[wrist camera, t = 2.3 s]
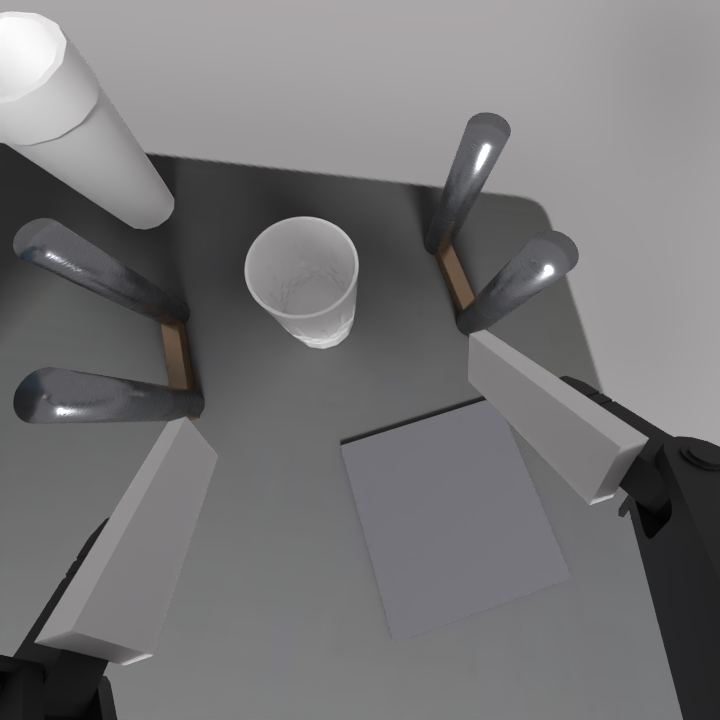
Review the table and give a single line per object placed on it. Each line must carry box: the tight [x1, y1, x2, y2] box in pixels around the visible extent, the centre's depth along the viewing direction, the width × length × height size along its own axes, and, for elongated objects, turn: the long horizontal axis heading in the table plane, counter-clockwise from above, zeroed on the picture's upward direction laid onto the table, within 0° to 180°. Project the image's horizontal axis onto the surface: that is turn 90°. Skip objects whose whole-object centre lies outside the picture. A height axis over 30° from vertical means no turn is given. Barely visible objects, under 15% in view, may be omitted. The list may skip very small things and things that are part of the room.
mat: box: [340, 400, 572, 643], centre depth 23 cm, size 16×16×1 cm
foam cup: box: [0, 11, 174, 229], centre depth 24 cm, size 10×9×13 cm
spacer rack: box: [13, 113, 578, 424], centre depth 21 cm, size 33×13×12 cm, turn 107°
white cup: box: [245, 217, 359, 349], centre depth 23 cm, size 8×8×10 cm
